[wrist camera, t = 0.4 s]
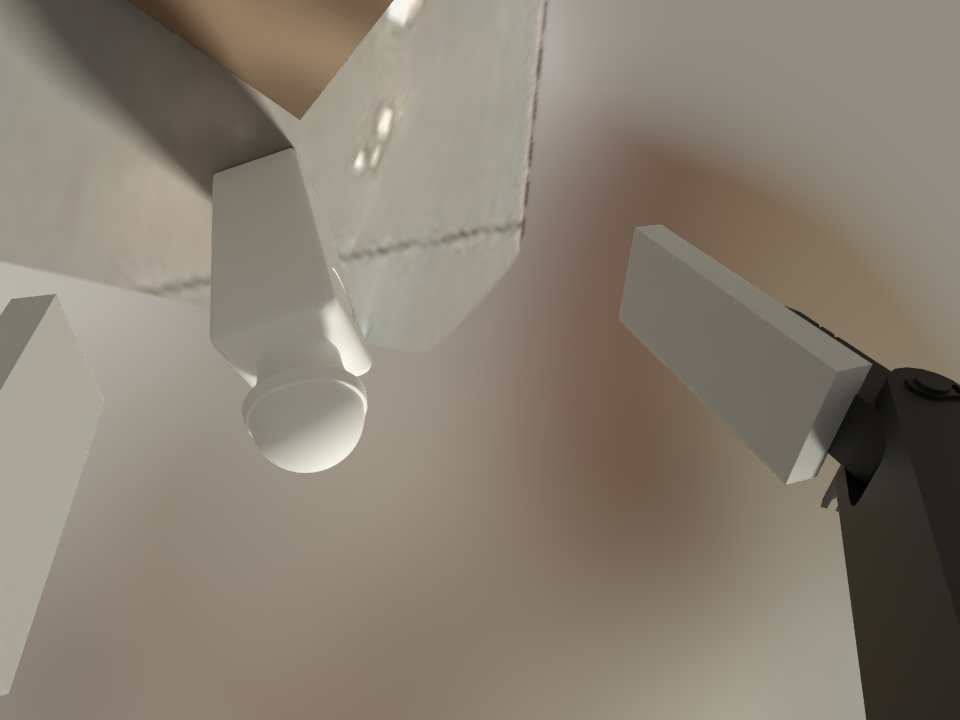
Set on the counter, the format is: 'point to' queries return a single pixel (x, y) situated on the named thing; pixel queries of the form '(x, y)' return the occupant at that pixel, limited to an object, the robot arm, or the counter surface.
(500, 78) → the counter surface
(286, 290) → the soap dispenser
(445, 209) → the counter surface
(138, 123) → the counter surface
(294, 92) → the walnut board
